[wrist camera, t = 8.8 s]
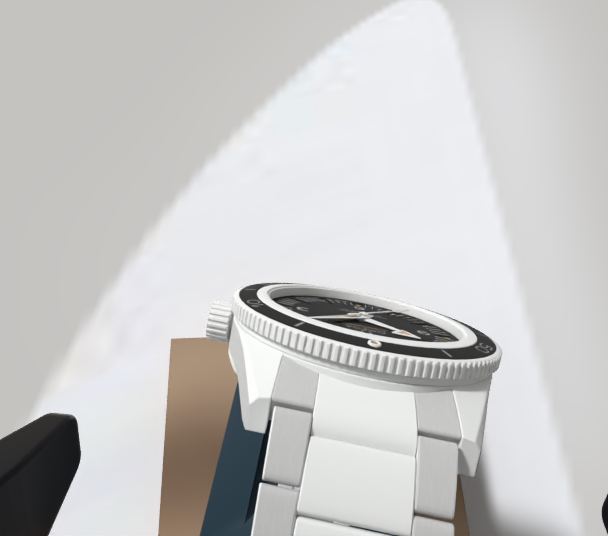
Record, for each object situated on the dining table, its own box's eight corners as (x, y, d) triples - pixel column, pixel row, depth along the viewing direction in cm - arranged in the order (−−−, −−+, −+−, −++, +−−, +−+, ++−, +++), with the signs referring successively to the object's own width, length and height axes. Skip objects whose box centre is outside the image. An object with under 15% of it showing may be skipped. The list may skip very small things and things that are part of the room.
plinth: (460, 627, 16) (488, 654, 14) (169, 647, 16) (149, 679, 13) (418, 344, 20) (435, 329, 18) (184, 353, 19) (171, 338, 17)
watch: (405, 367, 17) (580, 229, 7) (377, 631, 14) (621, 1083, 4) (257, 338, 17) (215, 162, 7) (197, 590, 14) (-29, 911, 4)
